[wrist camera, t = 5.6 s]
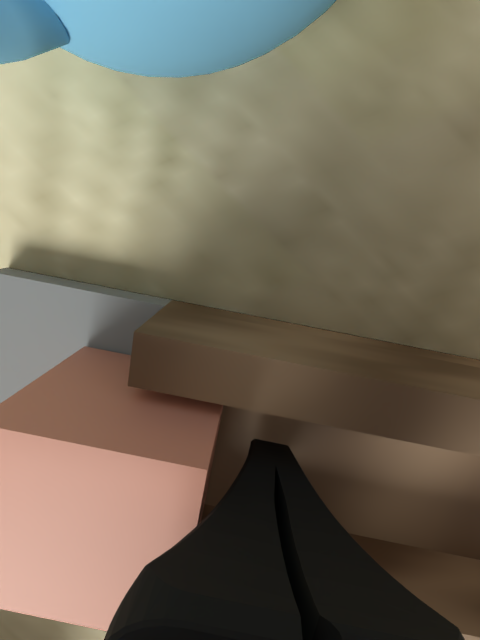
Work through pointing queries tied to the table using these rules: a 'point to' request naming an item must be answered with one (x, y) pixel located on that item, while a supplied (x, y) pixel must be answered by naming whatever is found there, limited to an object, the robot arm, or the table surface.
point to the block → (95, 485)
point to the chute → (342, 433)
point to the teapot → (154, 31)
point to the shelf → (61, 323)
